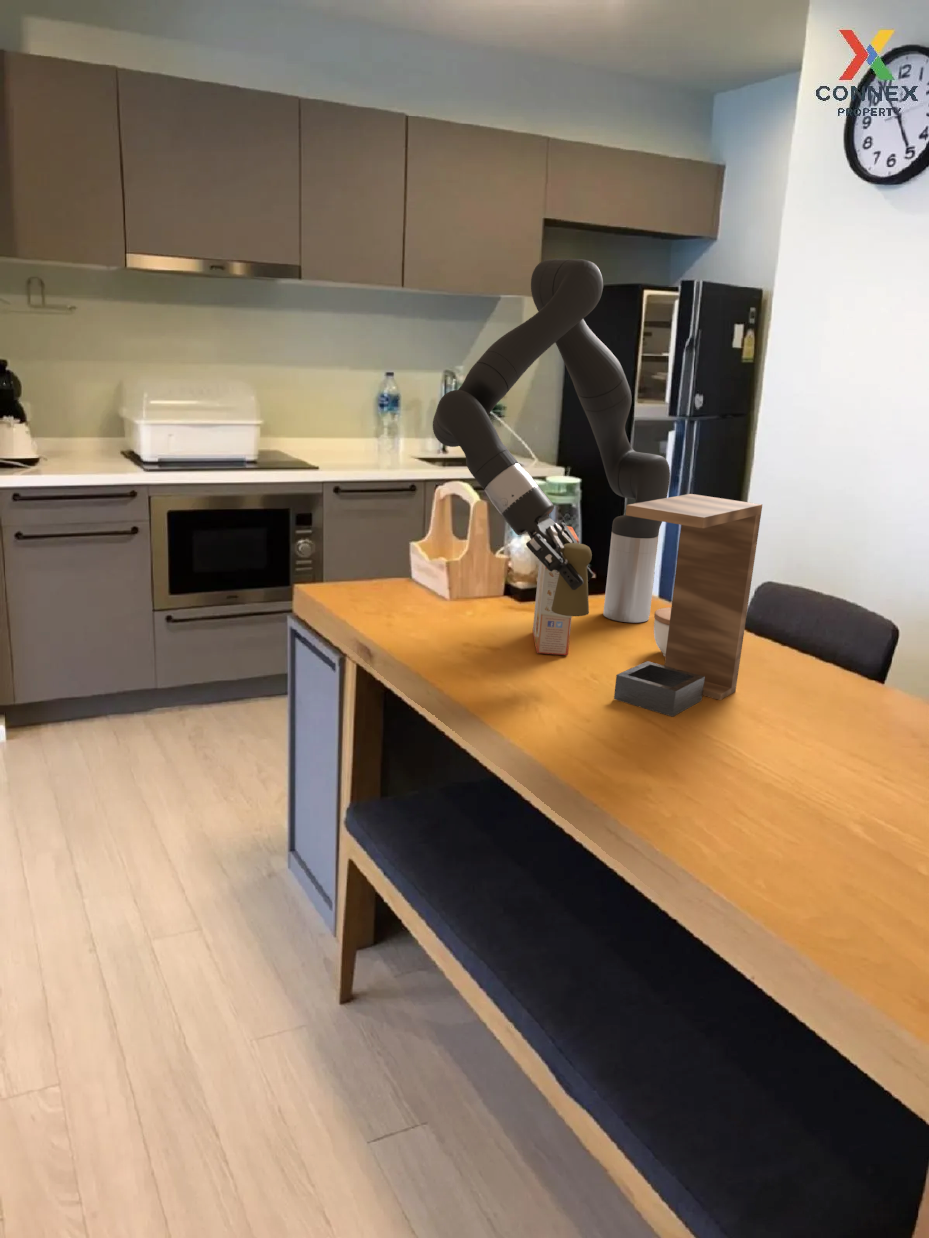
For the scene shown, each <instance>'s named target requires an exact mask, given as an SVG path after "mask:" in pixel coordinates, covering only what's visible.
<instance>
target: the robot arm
mask: <svg viewBox="0 0 929 1238" xmlns="http://www.w3.org/2000/svg"><path fill="white" fill-rule="evenodd" d="M603 289H604V279H603V275H602V273H601V271H600V269H599V266H597V264H596V263H594V262H592V261H590V260H588V259H587V260H586V259H584V258H583V259H581V258H551V259H545V260H543V261H541V262H538V264H537V265H536V266H535V268H534V269H533V271H532V274H531V278H530V292H531V296H532V299H533V304H534V306H535V307H536V310H537V312H536V313H535V314H533V316H531V317H530V318H528V319H527V320H526V321H524V322H522V323H521V324H519V325H517V326H516V327H515V328H513V329H511V330H510V331H508V332H507V333H505V334H504V335H503V336H501V337H499V338H498V339H497V340H496V341H495V342H494V343H492V344H491V345H490V346H489V347H488V348H487V349H486V351H484V353H483V354H482V355H481V356H480V358H479V359H477V361H476V362H475V363H474V365H472V367H471V368H470V369H469V371H468V373H467V375H466V377H465V379H464V381H463V383H462V384H461V385H460V387H459V388H458V389H454V390H450V391H448V392H447V393H446V392H445V394H444V395H443V396H442V397H441V398H440V399H439V401H438V404H437V407H436V409H435V410H436V411H435V414H434V416H433V420H432V430H433V435H434V437H435V438H436V440H437V441H438V442H439V443H440V444H442V445H444V446H446V447H449V448H455V447H460V449H461V450H462V452H463V454H464V456H465V463H466V467H467V469H468V471H469V473H470V474H471V476H473V478H474V479H475V480H476V481H477V483H478V484H479V486H480V487H481V488H482V489H483V490H484V492H485V494H486V496H487V497H488V499H489V500H490V502H491V503H492V505H493V506H494V507H495V508H496V510H497V511H498V513H499V514H500V515H501V517H502V518H503V519H504V520H505V522H506V523H507V524H508V526H509V527H510V528H511V530H513V532H514V533H515V534H516V535H517V536H522V535H525V534H526V533H527V534H528V536H529V538H530V539H529V540H528V541H527V542H526V544H525V546H526V548H528V550H530V551H531V553H532V554H533V555H534V556H535V557H536V558H537V559H538V561H539V560H540V561H541V562H542V563H543V564H544V565H545V566H546V568H547V569H548V570H549V571H551V572H552V571H553V570H554V571H555V572H557V573H558V572H559V573H560V575H561V576H562V577H563V578H564V580H565V581H566V582H567V584H568V585H569V586H570V587H571V589H572V590H576V589H577V588H578V587H580V586H581V585H582V584H583V583H584V580H583V579H582V577H581V576H580V575H579V574H578V572H577V571H576V570H575V568H574V567H573V566H572V565H571V564H569V560H568V559H567V558H566V556H565V555H564V550H565V548H564V546H563V545H564V544H567V543H577V541H576V540H575V538H574V537H573V535H572V534H571V532H570V530H569V529H568V527H567V526H568V525H567V524H566V523H565V522H563V521H561V523H560V524H558V523H557V522H555V521H554V520H553V519H552V518H551V517H550V514H551V513H552V512H554V509H555V506H554V503H553V502H552V501H551V500H550V499H549V497H548V496H547V494H545V492H544V491H543V490H542V489H541V487H540V486H539V485H538V483H537V482H536V481H535V480H534V478H533V476H532V475H531V474H530V473H529V472H528V471H527V470H526V469H525V468H524V467H523V466H522V465H521V464H520V463H519V462H518V460H517V459H516V458H515V457H514V455H513V454H512V453H511V452H510V450H509V449H508V447H507V446H506V445H505V444H504V442H502V440H501V439H500V436H499V434H498V432H497V429H496V427H495V425H494V424H493V421H492V420H491V418H490V416H489V415H490V414H491V412H492V411H493V410H494V408H495V406H497V404H498V403H499V402H500V401H501V400H502V399H503V398H504V397H505V396H506V395H507V394H508V392H509V391H511V389H512V388H513V386H514V385H516V383H517V382H518V381H519V380H520V378H521V377H522V376H523V375H524V373H525V372H527V370H528V369H529V368H530V367H531V366H532V365H533V364H534V363H535V362H536V361H537V360H538V359H539V358H540V357H541V356H542V355H543V354H544V353H545V352H546V351H547V350H548V349H550V348H551V347H552V346H553V345H554V344H555V345H556V347H557V348H558V351H559V353H560V356H561V358H562V360H563V362H564V365H565V368H566V370H567V372H568V374H569V377H570V380H571V381H572V383H573V386H574V387H573V388H574V389H575V393H576V395H577V397H578V399H579V403H580V404H581V407H582V410H583V412H584V413H585V416H586V417H587V420H588V422H589V425H590V427H591V430H592V433H593V434H592V435H593V436H594V439H595V441H596V444H597V447H598V450H599V452H600V453H599V454H600V457H601V462H602V464H603V468H604V472H605V475H606V479H607V481H608V484H609V487H610V488H611V490H612V492H614V493H615V494H616V495H618V496H619V497H621V498H625V499H631V500H634V504H635V503H641V502H646V501H652V500H658V499H664V498H668V494H669V487H670V479H671V469H670V464H669V462H668V460H667V459H666V458H665V457H664V456H662V455H659V454H655V453H648V452H647V453H646V452H639V451H636V450H634V448H633V447H632V445H631V443H630V442H629V438H628V436H627V433H626V423H627V420H628V417H629V414H630V410H631V407H632V402H633V401H632V399H633V398H632V391H631V387H630V385H629V383H628V380H627V376H626V374H625V371H624V369H623V367H622V365H621V362H620V361H619V359H618V358H617V357H616V356H615V355H614V354H613V352H612V350H610V349H609V348H608V347H607V345H605V343H603V342H602V341H601V339H599V338H598V336H596V334H595V333H594V332H593V331H592V329H591V328H590V327H589V325H587V323H586V321H585V318H586V317H587V316H588V315H589V314H590V313H592V311H593V310H594V309H595V308H596V307H597V305H598V303H599V302H600V300H601V297H602V294H603ZM662 523H663V522H662V521H657V520H651V519H645V518H639V517H633V516H627V515H626V514H624V515H623V514H622V515H620V516H616V517H615V518H614V519H613V521H612V524H611V527H612V528H611V536H610V546H609V556H608V566H607V575H606V576H607V577H606V585H605V593H604V594H605V595H604V603H603V613H602V614H603V617H605V618H606V619H609V620H612V621H616V622H624V623H634V624H635V623H644V622H647V621H649V619H650V616H651V606H652V601H653V600H652V598H653V589H654V582H655V572H656V571H655V568H656V559H657V553H658V552H657V550H658V549H657V548H658V542H659V532H660V528H661V526H662ZM549 562H550V563H549ZM568 564H569V565H568ZM587 575H588V581H590V580H591V579H592V578H594V576H595V575H594V572H593V571H592V569H591V568H590V567H589V565H587Z"/></svg>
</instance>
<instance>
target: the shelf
mask: <svg viewBox="0 0 929 1238" xmlns="http://www.w3.org/2000/svg"><path fill="white" fill-rule="evenodd" d="M625 509H626V510H625V515H627V516H633V517H639V518H645V519H651V520H657V521H662V523H663V522H665V523H669V524H675V525H680V532H679V533H680V535H679V543H678V551H677V558H676V559H677V560H676V567H675V576H674V585H673V593H672V600H671V615H670V623H669V632H668V640H667V648H666V656H665V658H664V664H663V665H664V666H667V667H671V668H675V669H679V670H682V671H686V672H690V673H694V674H697V675H701V676H705V679H704V686H703V694H702V696H705V697H708V698H712V699H715V700H719V701H721V700H723V699H725V698H727V697H728V696H730V695H732V694H733V693H735V692H736V691H737V683H738V677H739V670H740V664H741V663H740V662H741V658H742V657H741V656H742V650H743V642H744V635H745V629H746V621H747V615H748V608H749V601H750V593H751V588H752V586H751V585H752V580H753V575H754V574H753V573H754V572H753V571H754V565H755V559H756V553H757V544H758V537H759V532H760V524H761V518H762V510H763V504H760V503H753V502H748V501H741V500H734V499H729V498H723V497H721V498H720V497H715V496H714V497H713V496H707V495H701V494H695V493H694V494H693V493H686V494H682V495H677V496H670V497H667V498H664V499H658V500H652V501H646V502H641V503H635V502H634V503H630V504H626V508H625Z"/></svg>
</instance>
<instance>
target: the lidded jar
mask: <svg viewBox="0 0 929 1238" xmlns="http://www.w3.org/2000/svg"><path fill="white" fill-rule="evenodd" d="M671 607H672V606H671ZM671 607H662V608H657V609H656V610H655V611H654V614H653V615H654V617H653V618H654V620H653V637H654V641H655V644H656V646H657V647H658V650H660V652H661V653H662V656H663V657H665V656H666V648H667V640H668V632H669V623H670V615H671Z"/></svg>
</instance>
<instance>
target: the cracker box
mask: <svg viewBox="0 0 929 1238" xmlns="http://www.w3.org/2000/svg"><path fill="white" fill-rule="evenodd" d="M566 526H567V527H568V529H569V530H570V532H571V534H572V535H573V537H574V538H575V540H576V541H577V543H580V542H581V541H580V538H579V537H578V535H577V534H576V532H575V530H574V528H573V526H569V525H566ZM580 544H581V543H580ZM549 563H550V562H549ZM558 577H559V572H558V573H557V572H555V571H554V570H553V571H552V572H551V571H549V570H548V569H547V568H546V566H545V565H544V564H543V563H542V562H541V561H540V560H539V559H538V573H537V581H536V582H537V584H536V590H535V591H536V594H535V603H534V613H533V614H534V615H533V623H532V635H533V640H534V644H535V650H536V654H545V655H556V656H568V654H569V647H570V646H569V645H570V636H571V627H572V626H571V625H572V617H573V616H565V615H560V614H557V613H554V612H553V611H552V604H553V600H554V595H555V591H556V586H557V582H558Z"/></svg>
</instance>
